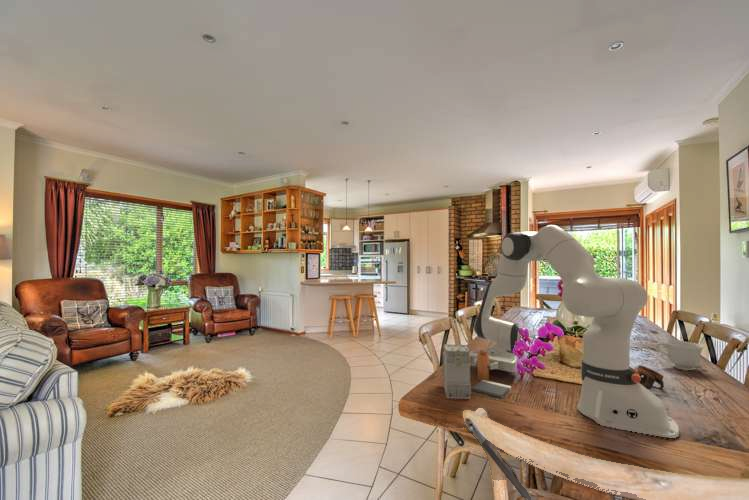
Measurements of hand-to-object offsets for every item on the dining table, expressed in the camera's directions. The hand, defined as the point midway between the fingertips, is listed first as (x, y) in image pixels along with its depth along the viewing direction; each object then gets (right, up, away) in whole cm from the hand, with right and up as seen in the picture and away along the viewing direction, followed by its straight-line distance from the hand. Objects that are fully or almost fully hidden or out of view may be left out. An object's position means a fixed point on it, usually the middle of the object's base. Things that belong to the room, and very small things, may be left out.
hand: (482, 365), depth 123 cm
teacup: (+85, -6, +13) cm, 86 cm away
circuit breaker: (-12, -5, -10) cm, 16 cm away
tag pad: (0, -5, -9) cm, 11 cm away
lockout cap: (+1, -5, +1) cm, 5 cm away
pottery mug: (+54, -5, -8) cm, 55 cm away
